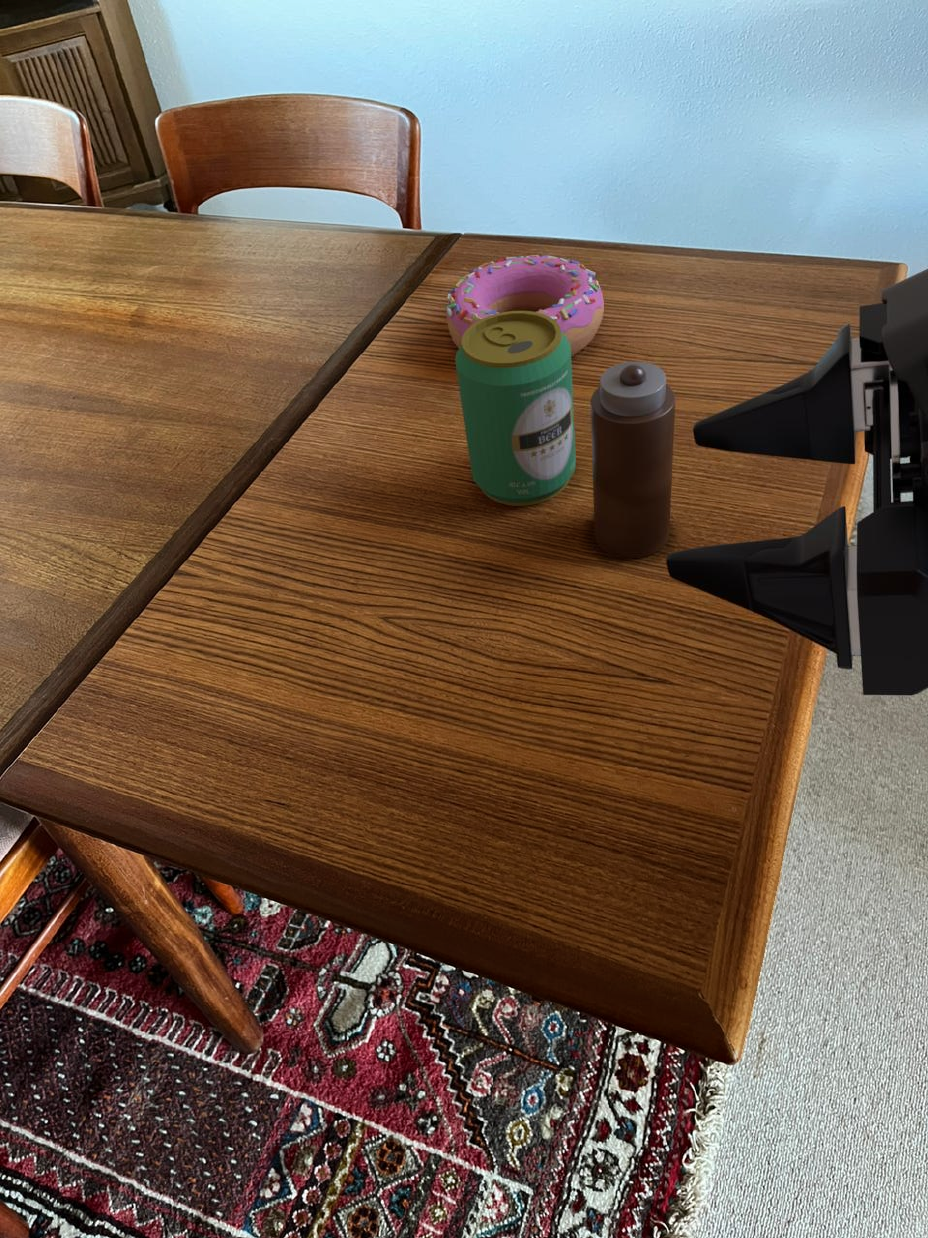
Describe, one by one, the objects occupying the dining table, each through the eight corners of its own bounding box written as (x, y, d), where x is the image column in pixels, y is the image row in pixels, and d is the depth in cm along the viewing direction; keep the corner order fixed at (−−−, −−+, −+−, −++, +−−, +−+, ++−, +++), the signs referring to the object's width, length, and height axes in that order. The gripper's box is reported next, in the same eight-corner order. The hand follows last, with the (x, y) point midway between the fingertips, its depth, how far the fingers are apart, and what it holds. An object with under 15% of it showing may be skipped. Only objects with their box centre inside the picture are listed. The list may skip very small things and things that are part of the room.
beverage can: (512, 524, 68) (496, 382, 60) (453, 474, 73) (430, 336, 65) (597, 478, 71) (594, 335, 62) (534, 432, 76) (523, 294, 67)
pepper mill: (667, 509, 67) (674, 340, 58) (671, 558, 64) (679, 387, 54) (594, 511, 68) (589, 345, 59) (594, 559, 65) (589, 392, 55)
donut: (624, 305, 88) (624, 253, 85) (573, 387, 80) (571, 334, 76) (485, 291, 93) (479, 242, 90) (424, 367, 85) (415, 316, 81)
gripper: (1087, 145, 36) (678, 226, 42) (1197, 431, 24) (604, 482, 30) (1059, 393, 43) (713, 429, 50) (1133, 708, 31) (664, 702, 38)
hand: (682, 495), depth 42 cm, fingers open, 9 cm apart
